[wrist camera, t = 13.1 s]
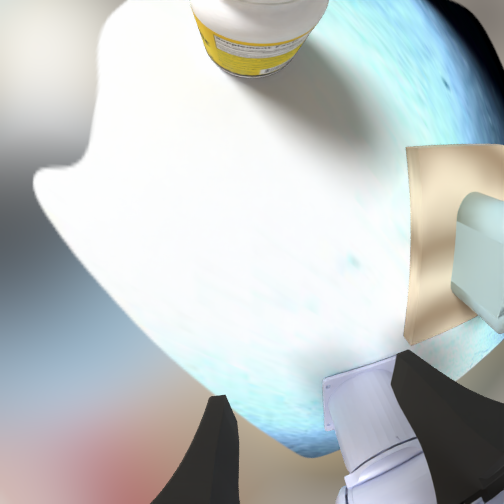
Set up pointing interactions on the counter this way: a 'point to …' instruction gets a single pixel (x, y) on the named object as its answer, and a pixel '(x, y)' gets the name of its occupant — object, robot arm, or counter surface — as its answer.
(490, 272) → the grey capsule with tab
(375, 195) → the counter surface
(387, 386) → the robot arm
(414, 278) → the cutting board
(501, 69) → the counter surface
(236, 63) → the supplement bottle
